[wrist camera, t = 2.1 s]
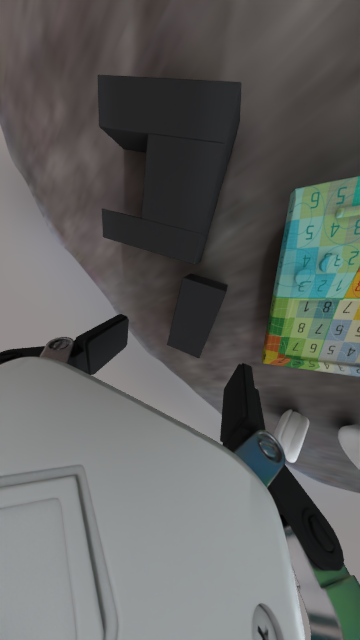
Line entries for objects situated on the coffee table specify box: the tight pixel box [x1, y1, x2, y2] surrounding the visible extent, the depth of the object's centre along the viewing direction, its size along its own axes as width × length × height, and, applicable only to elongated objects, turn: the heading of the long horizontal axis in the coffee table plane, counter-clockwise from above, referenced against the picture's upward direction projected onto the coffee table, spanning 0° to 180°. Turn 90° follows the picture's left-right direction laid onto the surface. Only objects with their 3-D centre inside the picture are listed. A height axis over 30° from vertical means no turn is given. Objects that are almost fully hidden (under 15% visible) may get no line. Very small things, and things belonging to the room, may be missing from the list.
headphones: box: [274, 409, 360, 470], centre depth 18 cm, size 7×18×20 cm, turn 97°
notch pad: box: [98, 75, 241, 264], centre depth 18 cm, size 14×14×4 cm
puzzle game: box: [262, 175, 360, 377], centre depth 16 cm, size 12×5×20 cm
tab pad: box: [167, 274, 227, 358], centre depth 24 cm, size 12×6×4 cm, turn 167°
